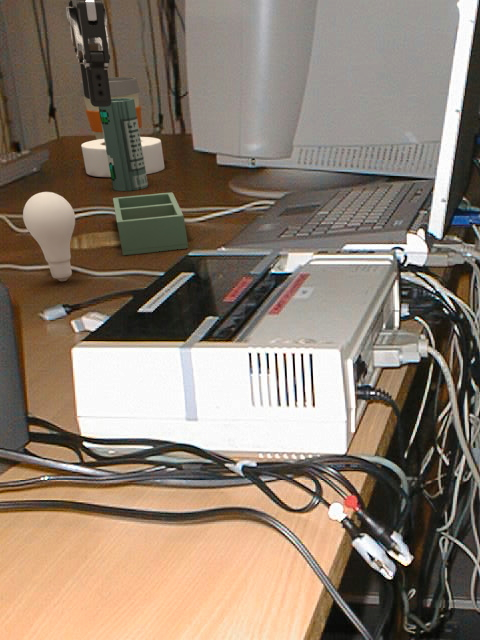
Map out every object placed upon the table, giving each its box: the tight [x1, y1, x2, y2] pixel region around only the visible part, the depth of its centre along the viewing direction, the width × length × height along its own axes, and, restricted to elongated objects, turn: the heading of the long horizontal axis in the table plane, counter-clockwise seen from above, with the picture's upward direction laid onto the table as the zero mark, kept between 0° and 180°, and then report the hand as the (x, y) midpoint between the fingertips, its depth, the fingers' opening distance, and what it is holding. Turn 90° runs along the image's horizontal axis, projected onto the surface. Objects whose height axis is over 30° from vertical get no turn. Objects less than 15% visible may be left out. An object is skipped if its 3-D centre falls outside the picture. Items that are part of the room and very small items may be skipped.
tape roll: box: [80, 136, 166, 178], centre depth 184 cm, size 16×16×6 cm
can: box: [98, 98, 149, 192], centre depth 165 cm, size 6×6×15 cm
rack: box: [112, 192, 189, 256], centre depth 133 cm, size 17×9×5 cm, turn 16°
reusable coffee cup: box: [79, 76, 143, 140], centre depth 202 cm, size 13×13×15 cm
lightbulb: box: [22, 191, 76, 282], centre depth 114 cm, size 6×6×11 cm
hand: (97, 102), depth 104 cm, fingers open, 8 cm apart
